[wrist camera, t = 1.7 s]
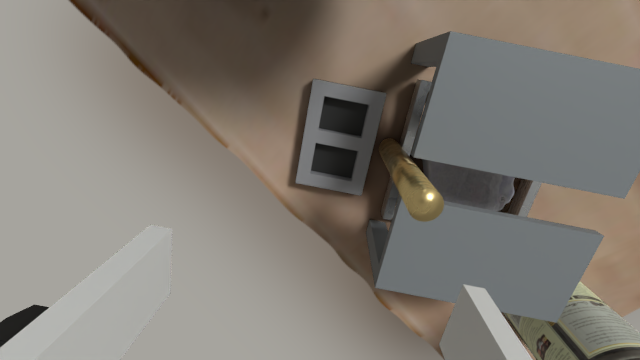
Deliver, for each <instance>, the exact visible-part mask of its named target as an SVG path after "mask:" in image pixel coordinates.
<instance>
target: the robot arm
mask: <svg viewBox="0 0 640 360" xmlns="http://www.w3.org/2000/svg"><path fill="white" fill-rule="evenodd" d="M171 256H172V229H171V228H165V227H160V226H155V225H149V226H148V227H147V228H146V229H145V230H143V231H142V232H141V233H140V234H138V235H137V236H136V237H135V238H134V239H132V240H131V241H130V242H129V243H128V244H126V245H125V246H124V247H123V248H121V249H120V250H119V251H118V252H116V253H115V254H114V255H113V256H112V257H110V258H109V259H108V260H107V261H106V262H104V263H103V264H102V265H101V266H99V267H98V268H97V269H96V270H94V271H93V272H92V273H91V274H90V275H88V276H87V277H86V278H85V279H83V280H82V281H81V282H80V283H79V284H77V285H76V286H75V287H74V288H73V289H71V290H70V291H69V292H68V293H66V294H65V295H64V296H63V297H61V298H60V299H59V300H58V301H57V302H55V303H54V304H53V305H52V306H51V307H44V306H39V305H33V306H31V307H29V308H26V309H24V310H22V311H20V312H18V313H16V314H14V315H12V316H10V317H8V318H6V319H5V320H3V321H2V322H0V360H121V358H122V357H123V355H124V354H125V353H126V352H127V350H128V349H129V347H130V346H131V345H132V344H133V342H134V341H135V340H136V338H137V337H138V336H139V334H140V333H141V332H142V330H143V329H144V328H145V326H146V325H147V324H148V322H149V321H150V320H151V318H152V317H153V316H154V314H155V313H156V312H157V311H158V309H159V308H160V307H161V305H162V304H163V303H164V301H165V300H166V299H167V297H168V296H169V295H170V289H171V288H170V287H171V258H172V257H171ZM439 346H440V348H441V351H442V354H443V357H444V359H445V360H532V358H531V357H530V355H529V354H528V352H527V351H526V349H525V348H524V346H523V345H522V343H521V342H520V340H519V339H518V337H517V336H516V334H515V333H514V331H513V330H512V328H511V327H510V325H509V324H508V322H507V321H506V319H505V318H504V316H503V315H502V313H501V312H500V310H499V309H498V307H497V306H496V304H495V303H494V301H493V300H492V298H491V297H490V295H489V294H488V292H487V291H486V289H485V288H480V287H475V286H469V285H464V284H463V286H462V289H461V291H460V294H459V296H458V299H457V301H456V304H455V306H454V309H453V311H452V314H451V316H450V318H449V321H448V323H447V326H446V328H445V331H444V333H443V336H442V338H441V341H440V343H439Z"/></svg>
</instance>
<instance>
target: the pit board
mask: <svg viewBox="0 0 640 360" xmlns="http://www.w3.org/2000/svg"><path fill="white" fill-rule="evenodd" d="M385 98H386V93H384V92H379V91H374V90H368V89H363V88H358V87H353V86H348V85H343V84H338V83H333V82H328V81H323V80H318V79H313V83H312V89H311V95H310V101H309V106H308V112H307V118H306V124H305V130H304V136H303V141H302V147H301V153H300V159H299V165H298V171H297V177H296V182H295V183H298V184H303V185H309V186H314V187H319V188H324V189H329V190H334V191H339V192H344V193H350V194H355V195H360V196H361V195H362V191H363V187H364V183H365V179H366V175H367V171H368V167H369V163H370V159H371V155H372V150H373V146H374V142H375V138H376V134H377V130H378V126H379V122H380V118H381V114H382V110H383V106H384V102H385Z"/></svg>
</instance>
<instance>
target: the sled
mask: <svg viewBox="0 0 640 360" xmlns="http://www.w3.org/2000/svg"><path fill="white" fill-rule="evenodd" d="M431 84H432V82H429V81H424V80H417V81H416V85H415V88H414V92H413V96H412V99H411V103H410V107H409V110H408V114H407V118H406V121H405V125H404V129H403V132H402V136H401V139H400V143H398V142H397V141H396V140H394V139H391V138H389V139H385V140H383V141H382V142H381V143H380V145H379V153H380V155H381V157H382V159H383V161H384V163H385V165H386V167H387V169H388V171H389V173H390V175H391V176H390V179H389V183H388V187H387V190H386V194H385V198H384V201H383V205H382V209H381V215H382V218H383V219H387V220H391V219H392V218H393V215H394V211H395V208H396V207H395V205H396V201H397V198H398V194H400V196H401V198H402V200H403V202H404V204H405V206H406V208H407V210H408V212H409V214H410V215H411V216H412V217H413V218H414V219H416V220H418V221H422V222H427V221H431V220H434V219H435V218H437V217H438V216H439V215H440V214H441V213H442V211H443V208H444V200H443V197H442V196H441V194H440V193H439V192H438V191H437V190H436V188H435V187H434V186H433V185H432V183H431V182H430V181H429V180H428V179H427V177H426V176H425V175H424V174H423V173H422V171H421V170H420V169H419V168H418V166H417V165H416V164H415V163H414V162H413V160H412V159H411V158H410V157H409V156H410V153H411V149H412V146H413V143H414V139H415V136H416V132H417V129H418V125H419V122H420V118H421V115H422V111H423V108H424V105H425V101H426V98H427V94H428V92H429V91H430V87H431ZM541 183H542V182H537V181H532V180H527V179H521V182H520V184H519V187H518V189H517V191H516V194H515V196H514V198H513V201H512V203H511V205H510V208H509V210H508V214H513V215H518V216H523V217H527V215H528V213H529V210H530V208H531V206H532V204H533V201H534V199H535V197H536V195H537V192H538V190H539V188H540V186H541Z"/></svg>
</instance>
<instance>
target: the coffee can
mask: <svg viewBox="0 0 640 360" xmlns="http://www.w3.org/2000/svg"><path fill="white" fill-rule="evenodd" d="M503 313H504V312H503ZM504 315H505V316H506V317H507V319H508V320H509V321H510V322H511V324H512V325H513V327H514V328H515V330H516V331H517V333H518V334H519V335H520V337H521V338H522V340H523V341H524V343H525V344H526V346H527V347H528V348H529V350H530V351H531V353H532V354H533V356H534V357H535V359H536V360H640V333H639V332H638V331H637V330H636V329H635V328H633V327H632V326H631V325H630V324H629V323H628V322H627V321H625V320H624V319H623V318H622V317H621V316H620V315H618V314H617V313H616V312H615V311H614V310H613V309H611V308H610V307H609V306H608V305H607V304H606V303H604V302H603V301H602V300H601V299H600V298H599V297H597V296H596V295H595V294H594V293H593V292H592V291H590V290H589V289H588V288H587V287H586V286H585V285H583V284H582V283H581V282H580V281H579V283H578V285H577V286H576V288H575V290H574V292H573V294H572V296H571V297H570V299H569V301H568V303H567V305H566V307H565V308H564V310H563V312H562V314H561V316H560V317H559V319H558V321H557V323H555V322H550V321H545V320H540V319H535V318H530V317H524V316H519V315H514V314H509V313H504Z"/></svg>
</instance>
